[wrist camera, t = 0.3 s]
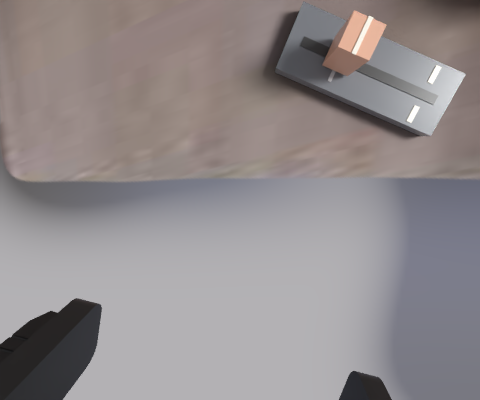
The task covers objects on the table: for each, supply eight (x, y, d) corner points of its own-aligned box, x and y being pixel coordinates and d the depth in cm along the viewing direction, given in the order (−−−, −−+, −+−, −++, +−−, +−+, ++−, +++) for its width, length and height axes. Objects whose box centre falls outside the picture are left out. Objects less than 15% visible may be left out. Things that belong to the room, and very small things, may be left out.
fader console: (300, 10, 31) (303, 0, 29) (452, 78, 31) (466, 73, 29) (274, 72, 32) (276, 67, 30) (420, 136, 33) (431, 135, 31)
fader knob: (335, 36, 29) (355, 9, 23) (360, 47, 29) (387, 23, 23) (321, 65, 30) (338, 46, 24) (346, 76, 30) (369, 60, 24)
